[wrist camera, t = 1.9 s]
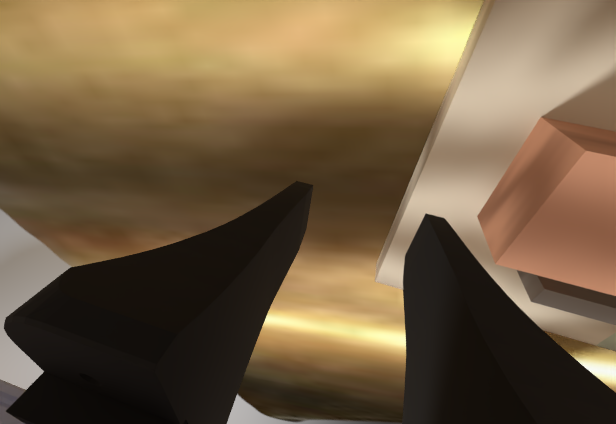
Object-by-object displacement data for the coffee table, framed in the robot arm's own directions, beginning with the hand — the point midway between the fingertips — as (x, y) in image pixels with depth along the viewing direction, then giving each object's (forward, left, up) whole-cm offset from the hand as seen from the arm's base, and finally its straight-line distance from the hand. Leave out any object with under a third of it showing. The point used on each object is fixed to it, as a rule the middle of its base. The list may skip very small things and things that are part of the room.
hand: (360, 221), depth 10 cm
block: (0, -10, -7) cm, 12 cm away
